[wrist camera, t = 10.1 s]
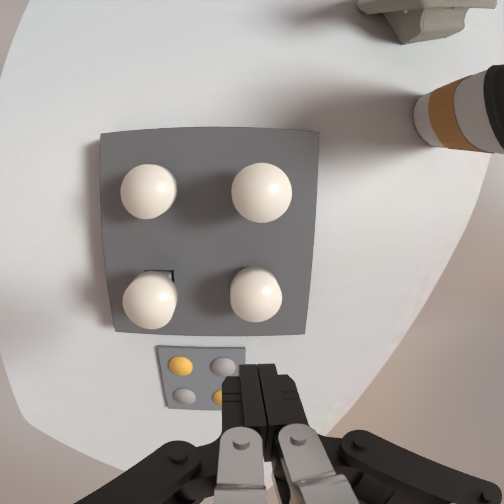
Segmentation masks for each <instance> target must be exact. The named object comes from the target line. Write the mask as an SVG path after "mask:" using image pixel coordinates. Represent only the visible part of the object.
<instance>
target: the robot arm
mask: <svg viewBox="0 0 504 504" xmlns="http://www.w3.org/2000/svg"><path fill="white" fill-rule="evenodd" d="M263 456H264V462H269V461H271V463H272V468H273V469H272V481H273V484H274V488H275V491H276V494H277V498H278V502H279V504H500V503H501V500H502V493H501V490H500V488H499V487H498V486H497V485H496V484H494V483H492V482H489V481H486V480H483V479H480V478H476V477H474V476H471V475H468V474H465V473H463V472H460V471H457V470H454V469H452V468H449V467H447V466H444V465H441V464H439V463H436V462H434V461H432V460H429V459H427V458H425V457H422V456H420V455H417V454H415V453H413V452H411V451H408V450H406V449H404V448H402V447H400V446H397V445H395V444H393V443H391V442H389V441H387V440H385V439H383V438H380V437H378V436H376V435H374V434H372V433H370V432H368V431H365V430H354V431H350V432H348V433H347V434H346V435H345V436H344V437H343V438H332V437H325V436H322V435H319V434H317V432H316V431H315V430H314V429H313V428H311V427H310V426H309V424H308V421H307V418H306V415H305V412H304V409H303V406H302V403H301V400H300V397H299V394H298V392H297V388H296V384H295V382H294V381H293V380H292V379H291V378H290V377H289V376H288V375H287V374H286V375H278V374H277V370H276V366H275V364H257V365H256V364H239V369H238V376H226V378H225V380H224V381H223V383H222V433H221V435H220V436H219V438H218V439H217V440H215V441H214V442H212V443H210V444H207V445H203V446H199V447H195V446H194V445H192V444H190V443H188V442H185V441H171V442H168V443H166V444H164V445H162V446H161V447H160V448H158V449H157V450H156V451H154V452H153V453H151V454H150V455H149V456H147V457H146V458H144V459H143V460H142V461H140V462H139V463H137V464H136V465H134V466H133V467H131V468H130V469H128V470H127V471H125V472H124V473H122V474H121V475H120V476H118V477H117V478H115V479H113V480H112V481H110V482H109V483H107V484H106V485H104V486H102V487H101V488H99V489H98V490H96V491H94V492H93V493H91V494H89V495H88V496H86V497H84V498H83V499H81V500H79V501H77V502H76V503H74V504H200V503H201V502H202V501H203V499H204V498H207V497H211V496H214V504H267V492H266V487H265V485H264V469H263Z"/></svg>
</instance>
